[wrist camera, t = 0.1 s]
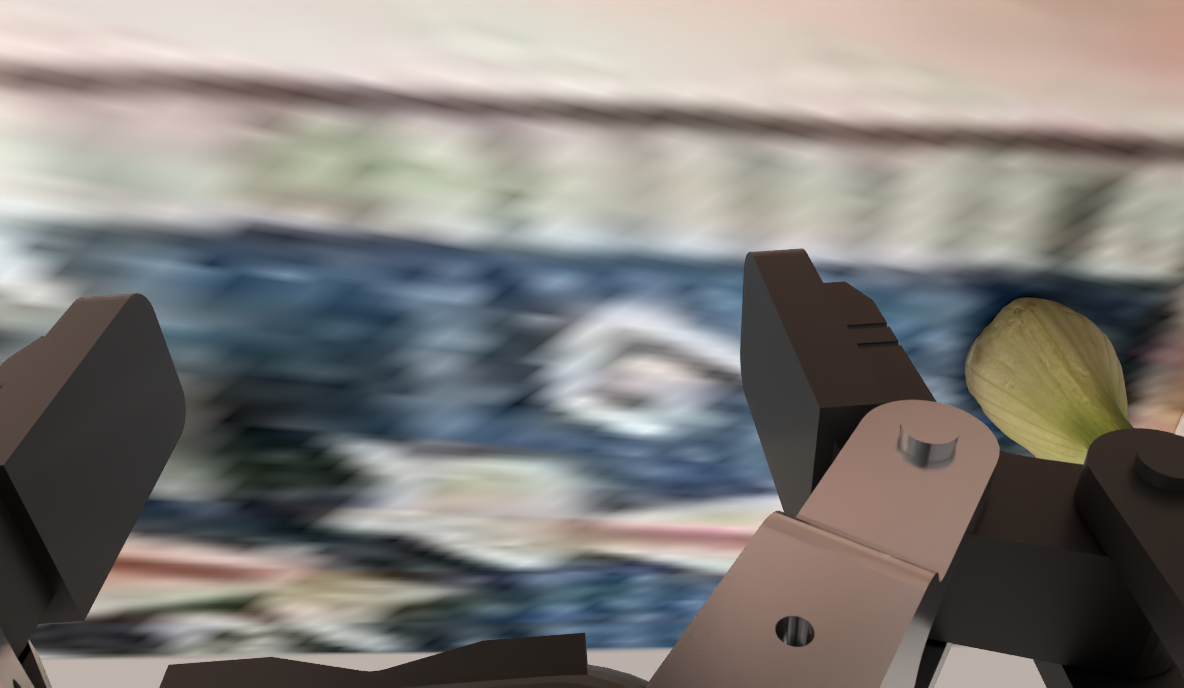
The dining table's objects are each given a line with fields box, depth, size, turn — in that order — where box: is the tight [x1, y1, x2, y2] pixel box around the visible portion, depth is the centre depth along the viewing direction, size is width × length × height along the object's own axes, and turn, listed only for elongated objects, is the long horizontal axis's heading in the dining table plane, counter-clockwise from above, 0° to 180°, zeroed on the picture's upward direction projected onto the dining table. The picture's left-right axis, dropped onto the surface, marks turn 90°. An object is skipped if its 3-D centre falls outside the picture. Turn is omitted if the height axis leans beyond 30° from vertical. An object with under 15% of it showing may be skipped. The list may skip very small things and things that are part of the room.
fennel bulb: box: [965, 297, 1133, 464], centre depth 31 cm, size 6×5×12 cm
